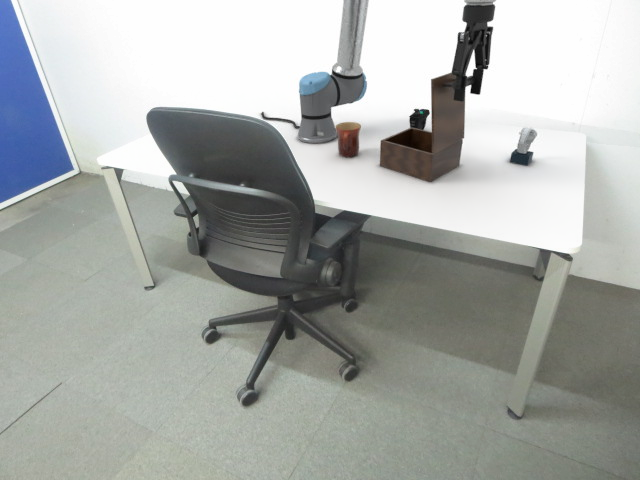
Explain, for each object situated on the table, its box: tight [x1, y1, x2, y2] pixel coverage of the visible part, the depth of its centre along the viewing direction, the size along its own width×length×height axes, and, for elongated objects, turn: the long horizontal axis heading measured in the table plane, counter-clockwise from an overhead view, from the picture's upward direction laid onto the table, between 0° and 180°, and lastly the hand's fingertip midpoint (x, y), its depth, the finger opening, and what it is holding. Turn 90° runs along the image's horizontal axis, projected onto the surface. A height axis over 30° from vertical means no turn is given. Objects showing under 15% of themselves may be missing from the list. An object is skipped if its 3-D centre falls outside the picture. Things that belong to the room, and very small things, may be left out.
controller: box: [408, 108, 431, 130], centre depth 164 cm, size 4×12×10 cm, turn 145°
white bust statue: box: [509, 126, 538, 167], centre depth 136 cm, size 6×8×11 cm
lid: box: [430, 71, 475, 153], centre depth 122 cm, size 21×17×6 cm
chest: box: [379, 127, 464, 183], centre depth 137 cm, size 20×17×9 cm
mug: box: [335, 121, 362, 158], centre depth 147 cm, size 12×9×10 cm
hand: (467, 97), depth 118 cm, fingers closed on lid, 8 cm apart
